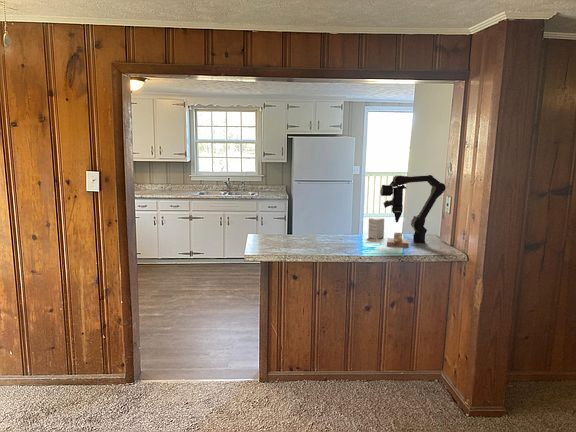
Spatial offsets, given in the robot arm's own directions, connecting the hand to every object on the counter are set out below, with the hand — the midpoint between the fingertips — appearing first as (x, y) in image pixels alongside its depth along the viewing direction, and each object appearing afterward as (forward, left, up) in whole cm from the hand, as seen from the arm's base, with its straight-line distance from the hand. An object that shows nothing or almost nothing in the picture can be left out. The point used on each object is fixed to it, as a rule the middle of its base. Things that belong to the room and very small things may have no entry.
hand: (396, 221), depth 256 cm
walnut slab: (-1, +8, -14) cm, 16 cm away
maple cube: (-1, +8, -11) cm, 13 cm away
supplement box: (+13, -11, -13) cm, 22 cm away
